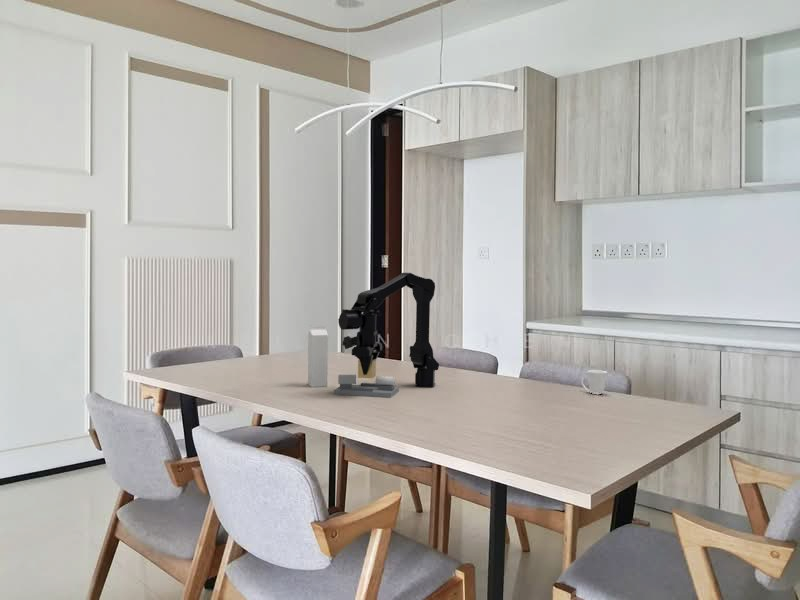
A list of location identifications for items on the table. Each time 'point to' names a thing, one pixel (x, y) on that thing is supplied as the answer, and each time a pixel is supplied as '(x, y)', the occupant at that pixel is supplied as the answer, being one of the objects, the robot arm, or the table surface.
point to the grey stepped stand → (366, 387)
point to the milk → (317, 356)
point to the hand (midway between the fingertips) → (367, 373)
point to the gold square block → (371, 370)
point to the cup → (595, 380)
